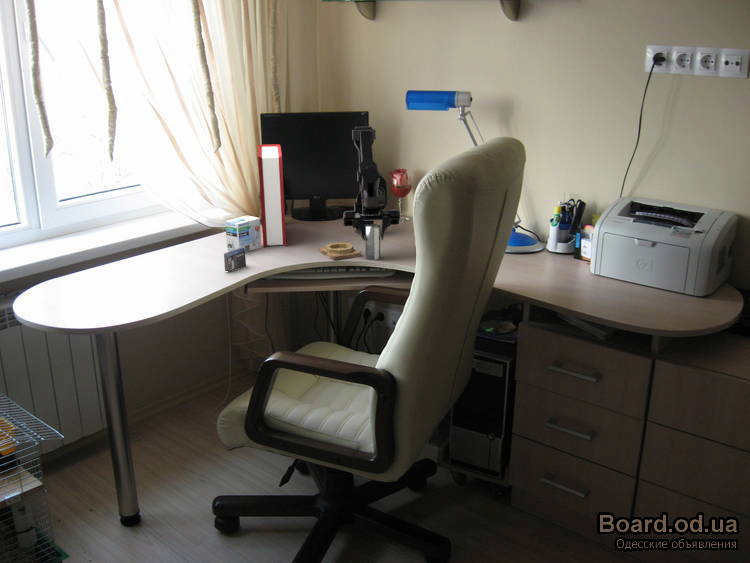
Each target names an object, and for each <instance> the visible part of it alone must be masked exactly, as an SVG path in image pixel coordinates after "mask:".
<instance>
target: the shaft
mask: <svg viewBox="0 0 750 563" xmlns="http://www.w3.org/2000/svg"><path fill="white" fill-rule="evenodd" d="M364 245H365V251H364V253H365V256H364V257H365V259H366V260H367V261H368V260H369V261H376V260H380V259H381V257H382V256H381V225H380V224H377V223H374V224H368V225H365V241H364Z"/></svg>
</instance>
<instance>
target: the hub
mask: <svg viewBox="0 0 750 563" xmlns="http://www.w3.org/2000/svg"><path fill="white" fill-rule="evenodd" d="M318 252H319V253H320V252H321V253H320V254H322V255H323V256H325V255H326V257H327V256H328V257H327V258H329V259H331V260H332V259H333V260H332V261H339V259H340V260H344V259H345V258H346V259H350V258H351V257H352V258H357V257H361V256H362V254H361V253H362V252H360V251H358V250H356V249H355V248H354V245H352V244H351V243H348V242H333V243H328V244H327V245H325V246H324V247H319V248H318Z"/></svg>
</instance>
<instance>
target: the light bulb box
mask: <svg viewBox="0 0 750 563" xmlns="http://www.w3.org/2000/svg"><path fill="white" fill-rule="evenodd" d="M224 223H225V238H226V248H227V250H228V251H227V252H230V251H233V250H236V249H238V248H244V249H245V253H247V252H251V251H255V250H257V249H261V248H262V235H261V234H262V232H261V218H260V217H256V216H253V215H252V216H251V215H243V216H240V217H236V218H232V219H228V220H225V221H224Z"/></svg>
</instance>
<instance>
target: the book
mask: <svg viewBox="0 0 750 563" xmlns="http://www.w3.org/2000/svg"><path fill="white" fill-rule="evenodd" d="M257 149H258V150H257V162H258V175H259V176H258V179H259V195H260V196H259V197H260V212H261V228H262V232H261V233H262V245H263V246H262V247H263V248H265V247H268V246H285V247H287V233H286V232H287V230H286V214H285V212H286V211H285V195H284V194H285V192H284V191H285V190H284V171H283V155H282V154H283V153H282V148H281V144H277V143H276V144H271V143H270V144H258V146H257Z"/></svg>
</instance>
